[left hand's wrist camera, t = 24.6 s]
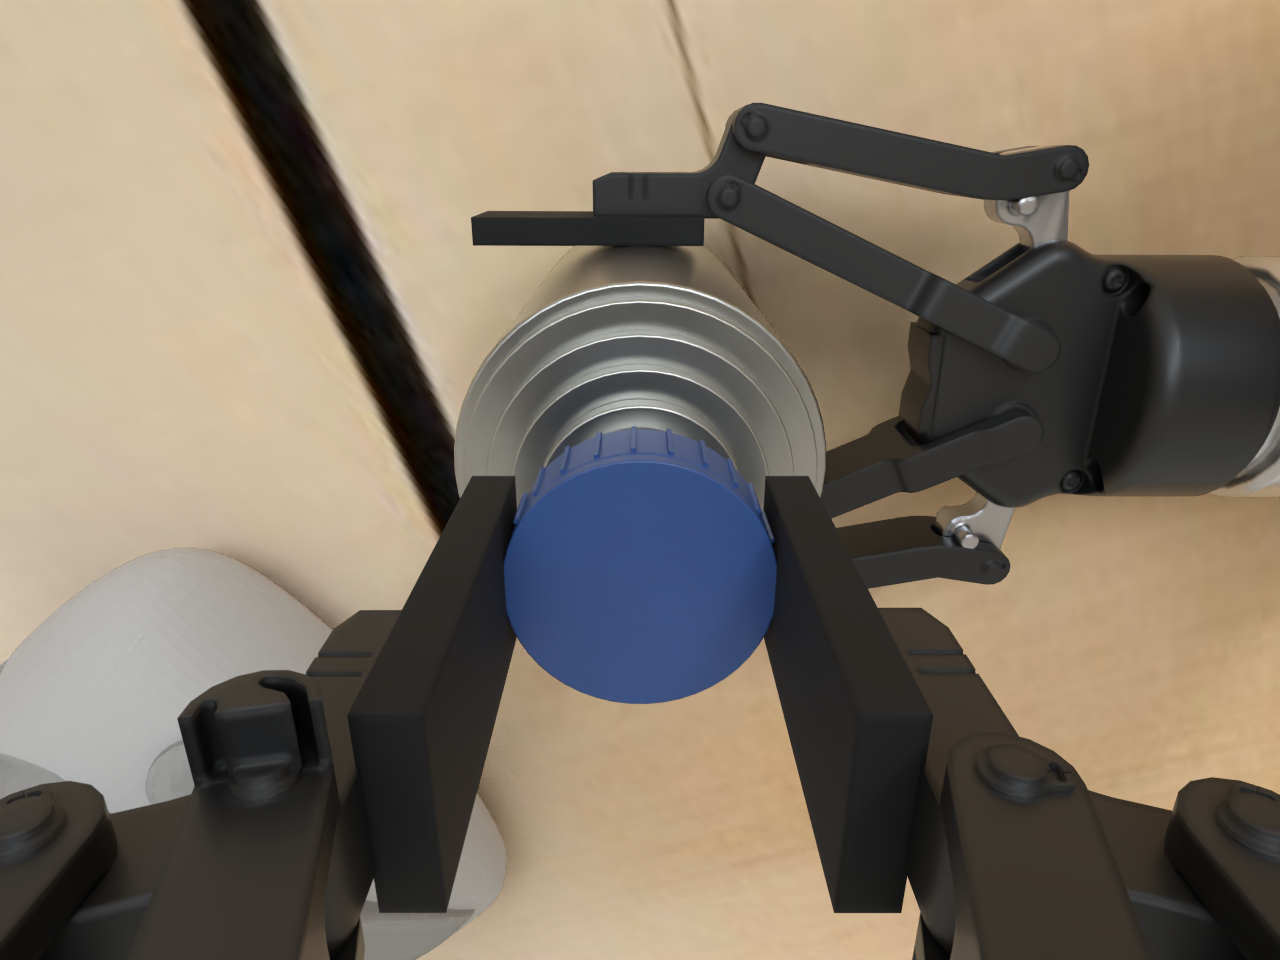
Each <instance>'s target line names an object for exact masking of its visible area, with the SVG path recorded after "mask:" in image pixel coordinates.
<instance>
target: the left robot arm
mask: <svg viewBox="0 0 1280 960" xmlns="http://www.w3.org/2000/svg"><path fill="white" fill-rule="evenodd" d="M763 511H765V514H766V516H767V519H768V522H769V525H770V528H771V531H772V534H773V537H774V543H772V545H773V548H774V551H775V556H776V561H777V574H776V589H775V603H774V615H773V618H772V620H771V623H770V625H769V628H768V630H767V632H766V633H765V635H764V640H765V644H766V647H767V651H768V655H769V659H770V663H771V667H772V671H773V675H774V679H775V683H776V687H777V691H778V694H779V698H780V702H781V706H782V710H783V714H784V718H785V722H786V726H787V730H788V734H789V738H790V742H791V745H792V749H793V753H794V757H795V761H796V765H797V769H798V773H799V777H800V781H801V785H802V789H803V792H804V796H805V800H806V804H807V808H808V812H809V816H810V820H811V824H812V828H813V832H814V836H815V839H816V843H817V847H818V851H819V855H820V859H821V863H822V867H823V871H824V875H825V879H826V883H827V887H828V890H829V894H830V898H831V902H832V906H833V910H834V913H901V911H902V905H903V899H904V892H905V886H906V880H907V876H908V879H909V881H910V884H911V887H912V890H913V892H914V895H915V898H916V900H917V903H918V906H919V908H920V911H921V912H920V918H919V924H918V929H917V935H916V941H915V947H914V952H913V958H912V960H1280V795H1279V794H1277V793H1275V792H1273V791H1271V790H1268V789H1265V788H1262V787H1259V786H1255V785H1253V784H1249V783H1246V782H1243V781H1238V780H1230V779H1221V778H1206V779H1201V780H1195V781H1190V782H1189V783H1188V784H1187V785H1186V786H1185V787H1183V788H1182V789H1181V790H1180V791H1179V792H1178V795H1177V798H1176V801H1175V805H1174V808H1173V811H1170V810H1166V809H1161V808H1157V807H1153V806H1148V805H1144V804H1139V803H1135V802H1130V801H1126V800H1121V799H1117V798H1112V797H1109V796H1106V795H1102V794H1099V793H1095V792H1092V791H1089V790H1087V787H1086V785H1085V783H1084V782H1083V780H1082V779H1081V777H1080V776H1079V774H1078V773H1077V771H1076V770H1075V768H1074V767H1073V766H1072V765H1070V764H1069V763H1068V762H1067V761H1065V760H1064V759H1063V758H1062V757H1060V756H1059V755H1058V754H1057V753H1055V752H1054V751H1052V750H1050V749H1048V748H1046V747H1044V746H1042V745H1040V744H1038V743H1036V742H1034V741H1031V740H1029V739H1026V738H1022V737H1019V736H1018V734H1017V733H1016V731H1015V729H1014V728H1013V726H1012V725H1011V723H1010V722H1009V720H1008V719H1007V717H1006V716H1005V714H1004V713H1003V711H1002V709H1001V708H1000V706H999V705H998V703H997V702H996V700H995V699H994V697H993V696H992V694H991V693H990V691H989V689H988V688H987V686H986V685H985V683H984V682H983V680H982V679H981V677H980V676H979V674H976V673H975V668H974V666H973V665H972V663H971V662H970V660H969V659H968V657H967V656H966V655H963V649H962V648H961V646H960V645H959V643H958V642H957V640H956V639H955V637H954V636H953V634H952V633H951V631H950V629H949V628H948V627H947V626H946V625H944V624H943V623H941V622H940V621H939V620H937V619H936V618H934V617H933V616H932V615H930V614H929V613H927V612H926V611H925V610H923V609H922V608H877V606H876V604H875V602H874V600H873V598H872V596H871V595H870V593H869V591H868V589H867V587H866V585H865V583H864V581H863V579H862V577H861V575H860V573H859V572H858V570H857V568H856V566H855V564H854V562H853V560H852V558H851V556H850V554H849V552H848V551H847V549H846V547H845V545H844V543H843V541H842V539H841V537H840V535H839V533H838V531H837V529H836V528H835V526H834V524H833V522H832V520H831V518H830V516H829V514H828V512H827V510H826V508H825V506H824V505H823V503H822V501H821V499H820V497H819V495H818V493H817V491H816V489H815V487H814V485H813V483H812V482H811V480H810V478H809V476H765V491H764V507H763ZM516 512H517V498H516V482H515V476H472V477H471V479H470V481H469V483H468V485H467V486H466V488H465V490H464V492H463V494H462V496H461V498H460V500H459V502H458V504H457V506H456V508H455V509H454V511H453V513H452V515H451V517H450V519H449V521H448V523H447V525H446V527H445V529H444V531H443V532H442V534H441V536H440V538H439V540H438V542H437V544H436V546H435V548H434V550H433V552H432V554H431V555H430V557H429V559H428V561H427V563H426V565H425V567H424V569H423V571H422V573H421V575H420V577H419V578H418V580H417V582H416V584H415V586H414V588H413V590H412V592H411V594H410V596H409V598H408V600H407V601H406V603H405V605H404V607H403V609H402V610H360V611H358V612H357V613H356V614H354V615H353V616H351V617H350V618H349V619H347V620H346V621H345V622H343V623H342V624H340V625H339V626H338V627H336V628H335V629H334V630H333V631H332V632H331V634H330V635H329V637H328V638H327V640H326V641H325V643H324V644H323V646H322V648H321V649H320V651H319V652H318V657H315V658H314V660H313V661H312V663H311V665H310V666H309V668H308V669H307V671H306V674H302V673H298V672H294V671H291V670H263V671H258V672H254V673H249V674H245V675H240V676H236V677H234V678H232V679H229V680H227V681H225V682H222V683H220V684H217V685H215V686H213V687H211V688H209V689H208V690H206V691H205V692H204V693H202V694H201V695H199V696H198V697H196V698H195V699H193V700H192V701H191V702H190V703H189V704H188V705H187V707H186V708H185V709H184V710H183V712H182V713H181V714H180V715H179V717H178V718H177V720H178V724H179V728H180V731H181V735H182V739H183V743H184V747H185V751H186V755H187V758H188V762H189V766H190V770H191V774H192V778H193V782H194V789H193V791H192V794H190V795H186V796H183V797H180V798H176V799H173V800H170V801H165V802H161V803H156V804H152V805H148V806H143V807H139V808H134V809H130V810H125V811H121V812H116V813H112V814H109V812H108V809H107V805H106V802H105V799H104V796H103V795H102V794H101V793H100V792H99V791H98V790H97V789H96V788H94V787H93V786H92V785H90V784H85V783H79V782H74V781H64V782H55V783H47V784H40V785H37V786H34V787H31V788H28V789H25V790H21V791H18V792H15V793H12V794H10V795H8V796H6V797H4V798H2V799H0V960H364V954H365V943H364V936H363V929H362V924H361V918H360V914H361V911H362V909H363V906H364V903H365V901H366V898H367V895H368V892H369V890H370V887H371V884H372V882H373V879H374V883H375V889H376V895H377V901H378V908H379V913H446V912H447V908H448V904H449V900H450V896H451V893H452V889H453V885H454V881H455V877H456V873H457V869H458V865H459V861H460V857H461V853H462V849H463V846H464V842H465V838H466V834H467V830H468V826H469V822H470V818H471V814H472V810H473V806H474V802H475V798H476V795H477V791H478V787H479V783H480V779H481V775H482V771H483V767H484V763H485V759H486V755H487V751H488V748H489V744H490V740H491V736H492V732H493V728H494V724H495V720H496V716H497V712H498V708H499V704H500V700H501V697H502V693H503V689H504V685H505V681H506V677H507V673H508V669H509V665H510V661H511V657H512V653H513V650H514V646H515V642H516V638H517V636H516V634H515V632H514V630H513V628H512V626H511V624H510V621H509V618H508V616H507V608H506V595H505V581H504V559H505V555H506V551H507V547H508V544H509V541H510V538H511V535H512V532H513V529H514V526H515V524H514V523H513V520H514V517H515V515H516Z"/></svg>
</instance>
